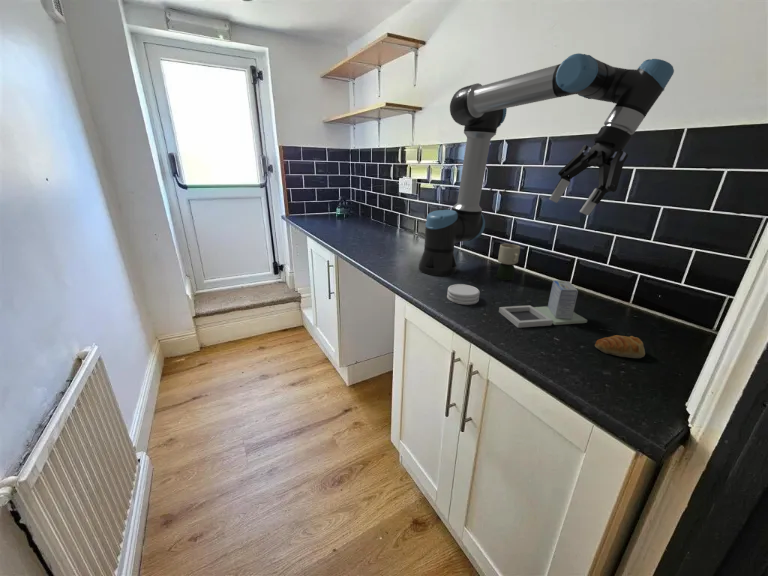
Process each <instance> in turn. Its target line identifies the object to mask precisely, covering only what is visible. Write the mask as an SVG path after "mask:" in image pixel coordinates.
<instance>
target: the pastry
mask: <svg viewBox="0 0 768 576" xmlns="http://www.w3.org/2000/svg"><path fill="white" fill-rule="evenodd" d="M594 347H595V348H596V349H597V350H599V351H601V352H602V353H604V354H606V355H607V354H608V355H613V356H617V357H618V358H619V357H620V358H631V359H642V358H644V357H645V355H646V351H645V347H644V343H643V341H642V339H640V338H639V337H635V336H633V335H630V336H627V335H626V336H625V335H618V334H616V335H615V334H613V335H611V336H608V337H607V336H606V337H603V338H600V339H597V340H596V341H595V344H594Z"/></svg>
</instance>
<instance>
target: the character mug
mask: <svg viewBox="0 0 768 576" xmlns="http://www.w3.org/2000/svg"><path fill="white" fill-rule="evenodd" d="M499 245H500V246H499V250H498V258H497V262H499V263H500V264H499V266H498V269H497V273H496V278H497V279H499V280H505V281H506V280H507V281H514V279H515V265H516V264H518V263H519V257H520V253H521V246H520V245H517V244H512V243H501V244H499Z"/></svg>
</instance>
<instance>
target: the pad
mask: <svg viewBox="0 0 768 576" xmlns="http://www.w3.org/2000/svg"><path fill="white" fill-rule="evenodd" d="M533 307H534V308H535V309H537V310H538V311H540V312H541V313H543V314H544V315H546V316H547V317H549V318H550V319H551V320H553V321H552V325H554V326H560V325H571V324H585V323H588V319H587V318H585V317H583V316H582V315H580V314H577V313H576V312H575V311H573V316H572V319H562V318H555V316H554V315H553V313H552V312H551V311H550V309H549V308H548V305H545V306H533Z"/></svg>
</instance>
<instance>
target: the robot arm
mask: <svg viewBox="0 0 768 576" xmlns="http://www.w3.org/2000/svg"><path fill="white" fill-rule="evenodd" d="M674 73H675V69H674V66H673V65H672V64H671V63H670V62H668V61H667V60H663V59H659V58H652V59H650V58H649V59H645V60H644V61H643V62H642V63H641V64H640V65H639V66H638V67H637V68H636V69H631V68H630V69H629V68H623V67H622V68H621V67H617V66H612V65H610V64H608V63H605V62H603V61H601V60H598V59H596V58H595V57H593V56H592V55H590V54H585V53H579V52H578V53H574V54H571V55H569V56H567V58H565V59H564V60H563V61H562V62H561V63H559V64H556V65H552V66H551V65H550V66H548V67H543V68H541V69H538V70H534V71H530V72H526V73H523V74H519V75H515V76H512V77H509V78H505V79H502V80H498V81H494V82H490V83H487V84H481V83H473V84H470V85H466V86H464V87H461V88H459V89H457V91H455V93H454V94H453V96H452V98H451V100H450V104H449V112H450V116H451V118H452V120H453V121H454V122H455V123H457V124H458V125H460V126H463V127H464V128H463V129H464V130H463V134H464V135H465V136H466V143H465V150H464V155H463V164H462V169H461V175H460V182H459V190H458V196H457V202H456V203H455V204H454V205H453V206H452V209H443V210H441V209H438V210H433V211H431V212H429V213H428V214H427V215H426V221H425V229H424V230H425V232H424V233H425V234H424V249H423V252H422V255H421V258H420V260H419V262H418V271H419V272H420V273H424V274H427V275H431V276H442V277H443V276H451V275H455V274H456V273H457V262H456V257H455V253H454V252H455V251H454V250H455V244H456V243H462V242H471V241H473V240H475V239H478V238H479V237H480V236H481V235H482V234H483V233H484V230H485V227H486V220H485V218H484V215H483V214H482V211H483V209H482V207H481V206H480V202H481V197H482V196H481V195H482V191H483V190H482V189H483V185H484V181H485V180H484V179H485V174H486V167H487V162H488V156H489V151H490V144H491V141H492V140H491V139H493V138H494V136H496V135H497V131H498V128H500V127H501V125H502V124H503V123H504V122H505V119H506V116H507V110H508V109H509V108H514V107H517V106H522V105H528V104H533V103H538V102H542V101H548V100H552V99H557V98H562V97H567V96H573V95H578V96H579V97H583V98H584V99H588V100H596V101H601V102H607V103H613V104H615V105H614V107H613V109H611V112H610V113H609V114H608V116H607V118H606V119H605V121H604V123H603V124H604V125H603V126H602V127H601V128H600V129H599V130H598V132H597V133H596V136H595V137H594V145H593V146H592V147H590V146H588V145H586V144H584V145H583V146H582V148H581V149H580V150H579V152H578V153H577V154H576V155H575V156H574V157H573V158H572V159H570V161H568V162H567V164H566V165H565V166H563V167H562V169H561V170H559V171H558V172H557V173H558V175H559V176H560V179H559V181H558V183H557V184H556V186H555V187H554V188H555V189H554V191H553V192H552V193H551V195H550V197H549V198H548V199H549V200H550V201H552V202H553V203H556V204H557V203H558V202H559V200H561V198H562V196H563V194H565V193H564V192H565V191H566V190H567V188H568V187H569V186H570V183H571V179H573V178H574V177H576V176H577V175H579V174H581V173H582V172H583V171H585V170H586V169H587V168H591V167H595V168H596V167H597V168H598V185H597V186H596V188H594V189H593V191H592V192H591V194H590V195H589V196H588V198H587V199H586V201H585V203H584V204H583V205H582V207H581V209H580V210H578V211H579V213H581V214H583V215H586V216H588V217H589V216H590V215H591V213H592V212H593V210H594V208H595V207H596V206H597V205H599V203H601V201H602V199H603V198H604V196H605V195H606V194H607V193H610V192H612V193H615V192H616V191H617V190H618V187H619V182H620V179H621V175H622V172H623V168H624V164H625V162H626V160H627V158H628V156H629V154H628V153H626V152H625V151H623V150H624V149H625V148H626V146H627V144H628V143H629V142H630V140H631V139H632V135H634V134H635V133H636V132H637V130H638V128H639V126H640V125H641V123H642V122H643V121H644V119H645V118H646V117H647V115H648V113H649V112H650V110H651V109H652V107H653V106H654V105H655V104H656V101H657V100H658V99H659V97H660V96H661V95H662V93H663V92H664V91H665V88H666V87H667V85H668V83H669V82H670V80H671V79H672V77H673V76H674Z"/></svg>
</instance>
